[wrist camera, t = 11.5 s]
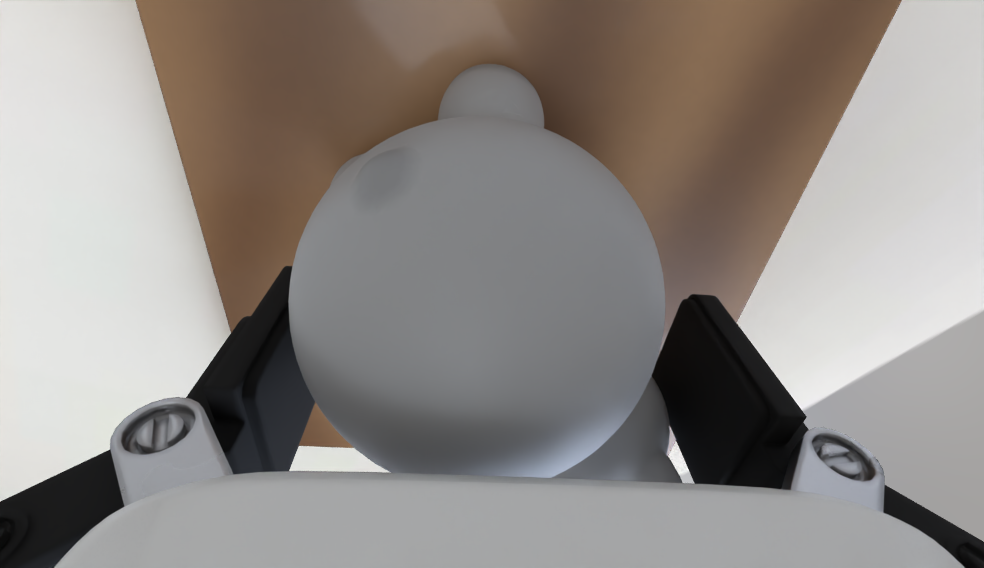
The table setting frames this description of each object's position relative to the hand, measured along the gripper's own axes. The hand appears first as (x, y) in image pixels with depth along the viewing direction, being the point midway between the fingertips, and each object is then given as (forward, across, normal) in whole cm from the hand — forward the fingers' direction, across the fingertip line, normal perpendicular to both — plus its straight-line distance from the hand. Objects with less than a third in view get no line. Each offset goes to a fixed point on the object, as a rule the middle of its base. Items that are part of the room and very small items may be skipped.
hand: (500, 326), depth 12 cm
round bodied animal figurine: (+4, -1, 0) cm, 4 cm away
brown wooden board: (+4, 0, 0) cm, 4 cm away
